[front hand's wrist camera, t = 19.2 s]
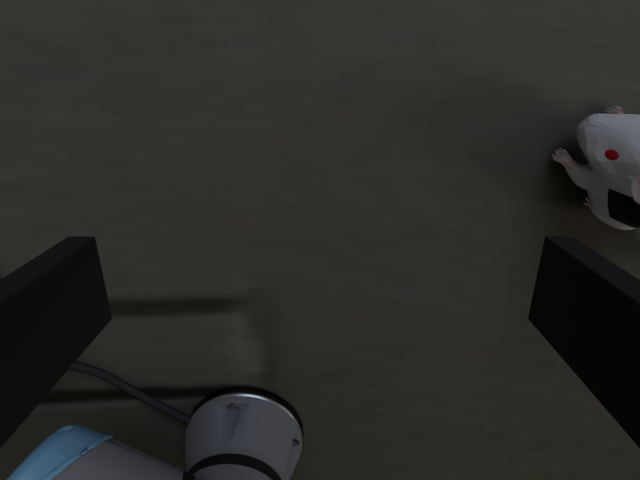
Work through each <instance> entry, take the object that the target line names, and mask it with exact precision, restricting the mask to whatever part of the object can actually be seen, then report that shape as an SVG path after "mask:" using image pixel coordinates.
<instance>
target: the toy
mask: <svg viewBox="0 0 640 480" xmlns="http://www.w3.org/2000/svg"><path fill="white" fill-rule="evenodd" d="M612 107H614V108H615V109H612V108H609V109H610V110H611V111H610V110H608V109H606V110H607V111H608V112H607V111H605V110H604V111H605V114H593V115H591V116H588V117H587V118H586V119H585V120H584V121H582V122H581V123H580V124H578V126H577V135H576V136H577V140H578V143H579V145H580V147H581V149H582V151H583V153H584V155H585V156H586V158H587V160H588V161H589V163H590V164H588V165H586V166H585V165H581V164H579V163H577V162H575V161H574V160H573V158H572V157H571V156H570V155H569V153H568V152H567V151H566V150H564V149H561V148H559V149H560V150H561V151H562V152H561V151H560V150H558V149H556V150H557V151H558V152H557V151H555V150H554V151H555V152H556V153H555V155H556V156H555V155H554V154H552V155H553V160H555V161H557V162H559V163H561V164H562V165H563V166H564V167H565V168H566V171H567V173H568V175H569V176H570V178H571V179H572V181H573V182H574V183H575V184H576V185H578V186H579V187H581V188H583V189H586V190H587V193H588V195H587V196H588V197H589V199H588V198H586V197H585V198H586V201H587V202H588V203H585V202H584V204H585V205H587V206H589V207H590V209H591V211H592V212H593V214H594V215H595V216H596V217H597V218H599V219H600V220H601V221H602V222H604V223H606V224H608V225H609V226H611V227H614V228H617V229H621V230H633V229H635V228H638V229H640V115H637V114H624V113H623V110H622V108H621V107H616V106H612ZM607 108H608V107H607ZM557 148H558V147H557Z"/></svg>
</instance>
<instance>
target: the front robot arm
mask: <svg viewBox="0 0 640 480" xmlns="http://www.w3.org/2000/svg"><path fill="white" fill-rule="evenodd" d="M111 319H112V316H111V312H110V307H109V302H108V297H107V293H106V288H105V283H104V278H103V274H102V269H101V264H100V260H99V255H98V250H97V245H96V241H95V237H67V238H66V239H64V240H63V241H61V242H59V243H58V244H56V245H55V246H53V247H52V248H50V249H48V250H47V251H45V252H44V253H42V254H41V255H39V256H37V257H36V258H34V259H33V260H31V261H29V262H28V263H26V264H25V265H23V266H22V267H20V268H18V269H17V270H15V271H14V272H12V273H11V274H9V275H7V276H6V277H4V278H3V279H1V280H0V448H1V447H2V445H3V444H4V443H5V442H6V441H7V440H8V439H9V437H10V436H11V435H12V434H13V433H14V432H15V430H16V429H17V428H18V427H19V426H20V425H21V423H22V422H23V421H24V420H25V419H26V418H27V416H28V415H29V414H30V413H31V412H32V411H33V409H34V408H35V407H36V406H37V405H38V404H39V403H40V401H41V400H42V399H43V398H44V397H45V396H46V394H47V393H48V392H49V391H50V390H51V389H52V387H53V386H54V385H55V384H56V383H57V382H58V380H59V379H60V378H61V377H62V376H63V375H64V373H65V372H66V371H67V370H68V369H72V370H77V371H81V372H85V373H88V374H91V375H94V376H96V377H99V378H101V379H103V380H105V381H107V382H109V383H111V384H113V385H115V386H117V387H118V388H120V389H122V390H124V391H125V392H127V393H129V394H130V395H132V396H134V397H136V398H138V399H140V400H142V401H143V402H145V403H147V404H149V405H151V406H153V407H154V408H156V409H158V410H160V411H162V412H164V413H165V414H167V415H169V416H171V417H173V418H175V419H177V420H179V421H181V422H183V423H185V424H187V428H186V433H185V465H186V472H185V471H183V470H181V469H179V468H177V467H175V466H173V465H170V464H168V463H166V462H164V461H161V460H159V459H157V458H155V457H153V456H151V455H149V454H147V453H144V452H142V451H140V450H138V449H136V448H134V447H132V446H130V445H127V444H125V443H123V442H121V441H119V440H117V439H115V437H114V436H113V435H104V434H101V433H98V432H96V431H93V430H91V429H88V428H86V427H83V426H80V425H69V426H66V427H63V428H61V429H59V430H57V431H56V432H54V433H53V434H52V435H50V436H49V437H48V438H47V439H45V440H44V441H43V442H42V443H41V444H40V445H39V446H38V447H37V448H36V449H35V450H34V451H33V452H32V453H31V454H30V455H29V456H28V457H27V458H26V459H25V460H24V461H23V462H22V463H21V465H20V466H19V467H18V468H17V469H16V470H15V471H14V472H13V473H12V474H11V476H10V477H9V478H8V479H7V480H290V478H291V476H292V473H293V471H294V469H295V467H296V465H297V462H298V460H299V458H300V455H301V452H302V446H303V426H302V422H301V420H300V418H299V416H298V414H297V412H296V411H295V410H294V408H293V407H292V406H291V405H290V404H289V403H288V402H286V401H285V400H284V399H282V398H281V397H279V396H278V395H276V394H274V393H271V392H269V391H266V390H263V389H259V388H254V387H231V388H226V389H222V390H219V391H217V392H214V393H212V394H210V395H209V396H207V397H206V398H204V399H203V400H202V401H201V402H200V403H199V404H198V405H197V406H196V407H195V409H194V411H193V412H192V415H191V417H189V416H188V415H186V414H184V413H182V412H180V411H178V410H176V409H174V408H172V407H170V406H168V405H167V404H165V403H163V402H161V401H159V400H157V399H155V398H154V397H152V396H150V395H148V394H146V393H145V392H143V391H141V390H139V389H137V388H135V387H134V386H132V385H130V384H128V383H127V382H125V381H123V380H122V379H120V378H118V377H116V376H114V375H112V374H110V373H108V372H106V371H104V370H102V369H99V368H96V367H94V366H91V365H87V364H84V363H80V362H75V361H76V360H77V358H78V357H79V356H80V355H81V354H82V353H83V351H84V350H85V349H86V348H87V347H88V346H89V344H90V343H91V342H92V341H93V340H94V339H95V337H96V336H97V335H98V334H99V333H100V332H101V331H102V329H103V328H104V327H105V326H106V325H107V324H108V322H109V321H110V320H111ZM528 319H529V320H530V321H531V322H532V324H533V325H534V326H535V327H536V328H537V329H538V331H539V332H540V333H541V334H542V335H543V336H544V337H545V339H546V340H547V341H548V342H549V343H550V344H551V346H552V347H553V348H554V349H555V350H556V351H557V353H558V354H559V355H560V356H561V357H562V358H563V360H564V361H565V362H566V363H567V364H568V365H569V367H570V368H571V369H572V370H573V371H574V372H575V373H576V375H577V376H578V377H579V378H580V379H581V380H582V382H583V383H584V384H585V385H586V386H587V387H588V389H589V390H590V391H591V392H592V393H593V394H594V396H595V397H596V398H597V399H598V400H599V401H600V403H601V404H602V405H603V406H604V407H605V408H606V409H607V411H608V412H609V413H610V414H611V415H612V416H613V418H614V419H615V420H616V421H617V422H618V423H619V425H620V426H621V427H622V428H623V429H624V430H625V432H626V433H627V434H628V435H629V436H630V437H631V439H632V440H633V441H634V442H635V443H636V444H637V445H638V447H639V448H640V280H639V279H637V278H636V277H634V276H633V275H631V274H629V273H628V272H626V271H625V270H623V269H622V268H620V267H618V266H617V265H615V264H614V263H612V262H611V261H609V260H607V259H606V258H604V257H603V256H601V255H599V254H598V253H596V252H595V251H593V250H592V249H590V248H588V247H587V246H585V245H584V244H582V243H581V242H579V241H577V240H576V239H574V238H573V237H545V241H544V245H543V250H542V255H541V260H540V264H539V269H538V274H537V278H536V283H535V288H534V293H533V297H532V302H531V307H530V312H529V316H528Z"/></svg>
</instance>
